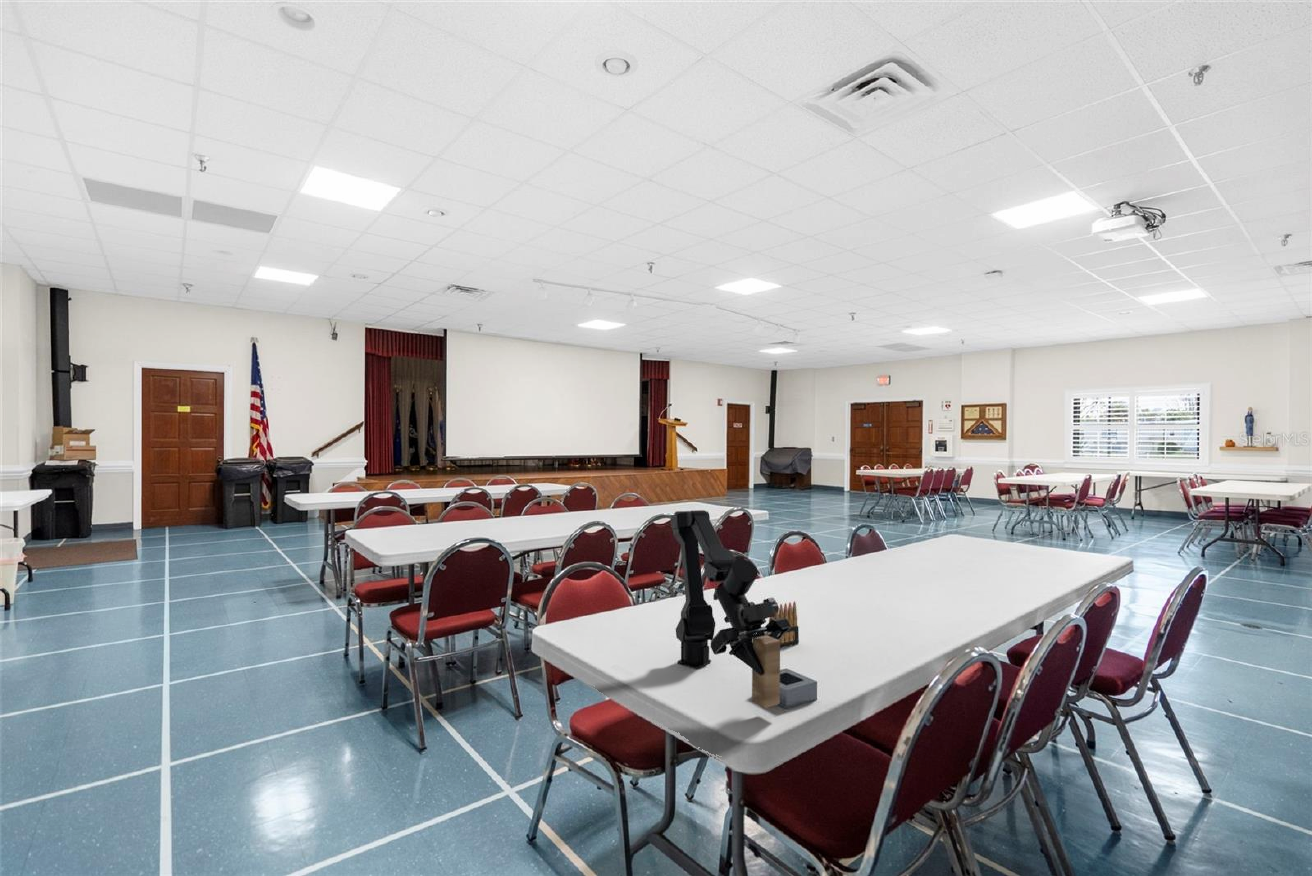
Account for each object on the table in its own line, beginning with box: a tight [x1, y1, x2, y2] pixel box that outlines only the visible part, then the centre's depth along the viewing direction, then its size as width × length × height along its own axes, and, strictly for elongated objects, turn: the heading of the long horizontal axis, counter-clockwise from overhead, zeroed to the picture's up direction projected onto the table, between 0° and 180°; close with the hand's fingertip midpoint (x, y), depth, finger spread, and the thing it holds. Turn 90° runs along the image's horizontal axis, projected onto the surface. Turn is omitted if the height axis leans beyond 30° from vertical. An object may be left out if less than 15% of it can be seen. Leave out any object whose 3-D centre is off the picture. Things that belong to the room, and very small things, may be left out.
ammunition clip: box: [768, 601, 800, 649], centre depth 173 cm, size 11×2×12 cm, turn 124°
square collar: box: [776, 668, 818, 710], centre depth 138 cm, size 9×9×4 cm
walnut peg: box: [751, 635, 781, 709], centre depth 127 cm, size 4×4×13 cm
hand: (770, 672), depth 126 cm, fingers closed on walnut peg, 4 cm apart
